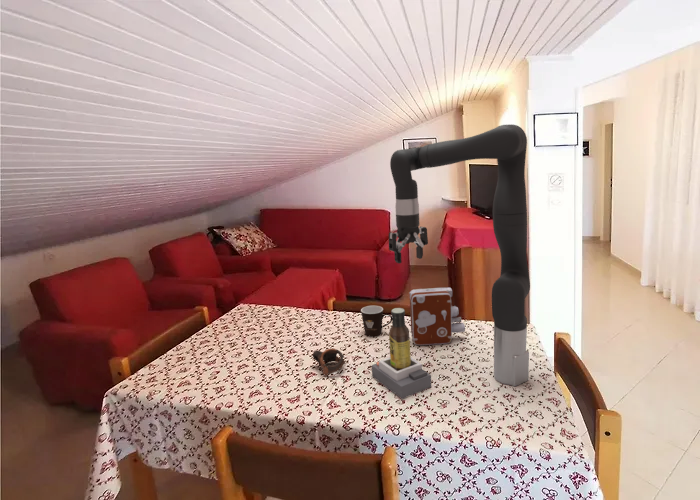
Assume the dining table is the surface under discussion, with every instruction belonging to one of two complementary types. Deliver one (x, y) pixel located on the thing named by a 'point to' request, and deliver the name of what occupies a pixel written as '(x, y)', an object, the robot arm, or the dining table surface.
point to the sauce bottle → (399, 341)
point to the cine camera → (433, 316)
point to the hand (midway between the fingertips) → (409, 260)
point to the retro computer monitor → (402, 377)
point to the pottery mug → (329, 360)
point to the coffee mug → (373, 320)
